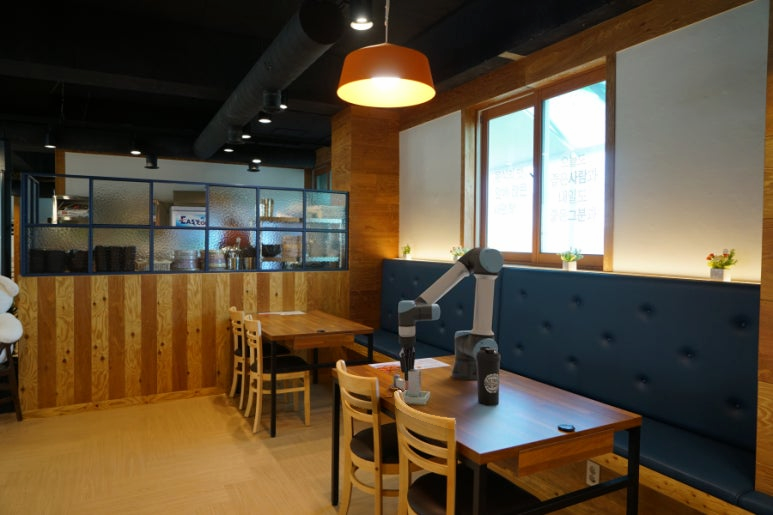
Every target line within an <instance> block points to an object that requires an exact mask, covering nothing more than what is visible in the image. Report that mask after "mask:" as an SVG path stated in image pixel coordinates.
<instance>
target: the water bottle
mask: <svg viewBox="0 0 773 515" xmlns="http://www.w3.org/2000/svg"><path fill="white" fill-rule="evenodd" d="M495 350H496V349H495V348H490V347H489V346H482V347H480V351H478V352H477V354H476V362H477V380H476V385H477V404H479V405H481V406H485V407H486V406H487V407H494V406H498V405H499V402H500V367H501V366H500V363H501V354H500V353H499V352H497V351H495Z"/></svg>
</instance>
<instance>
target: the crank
mask: <svg viewBox="0 0 773 515" xmlns="http://www.w3.org/2000/svg"><path fill="white" fill-rule="evenodd" d="M392 383H393V384H392V385H394V386H397V387H399V388H401V390H404V391H405V390H408V381H406V380H405V379H403V378H401V375H400V374H393V381H392Z"/></svg>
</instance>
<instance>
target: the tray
mask: <svg viewBox="0 0 773 515" xmlns="http://www.w3.org/2000/svg"><path fill="white" fill-rule="evenodd" d="M402 393H403V396H404V400H405V402H406V403H407V404H408V405H420V406H426V405H427V403H428V401H429V400H430V398H431V391H425V390H424V391H423V390H421V398H412V397H408V390H404V391H403V392H402ZM407 404H406V405H407Z"/></svg>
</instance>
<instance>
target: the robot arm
mask: <svg viewBox="0 0 773 515" xmlns="http://www.w3.org/2000/svg"><path fill="white" fill-rule="evenodd" d="M504 262H505V261H504V256H503V254H502V253H501V251H500V250H499V249H498V248H495V247H492V246H491V247H490V246H486V247H480V246H479V247H473V248H470V249H468V250H467V251H466V252H465V253H463V254H462V255H461V256H460V257H459V258H458V259H456V260H455V262H454V265H453V266H452V267H451V268H450V269H449V270H447V271H446V272H445V273H444V274H443V275H441V277H439V278H438V279H437V280H436V281H435V282H434V283H433V284H432V285H430V286H429V287H428V288H427V289H425V291H423V292H422V293H421V294H420V295H419V296H418V297H417V298H415V299H414V300H410V299H409V300H408V299H407V300H401V301H399V302H398V307H397V313H398V315H397V316H398V344H399V345H400V352H398V353H397V356H398V360H399V365H400V372H401V373H402V374H404V375H403V376H404V380H406V381H408V371H409V370H410V369H415V362H416V354H417V351H418V350H417V348H415V347H414V345H415V344H416V322H423V321H424V322H425V321H427V322H428V321H437V320H439V319H440V317H441V308H440V305H439V304H437V303H436V302H438V301H439V300H440V299H441V298H443V297H444V295H446V294H447V293H448V292H449V291H450V290H452V288H454V287H455V286H456V285H458V283H459V282H460V281H461V280H463V279H464V278H465V277H469V276H470V275H472V274H473V276H474V277H475V279H476V280H475V281H476V282H475V294H474V307H473V323H472V329H471V330H458V331H456V332H455V334H454V363H453V367H452V369H451V378H453V379H454V380H455V379H456V380H461V381H477V362H476V354H477V352H478V351H480V347H482V346H489V347H490V348H495V349H496V350H495V351H497V352H498V351H499V347H498V346H499V345H498V344H497V342H496V341H495V333H494V331H493V330H492V325H493V324H492V322H493V311H494V298H495V297H494V295H495V294H494V293H495V281H496V279H497V278H498V277H499V271H501V269H502V268H503V267H504ZM498 353H499V352H498Z"/></svg>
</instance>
